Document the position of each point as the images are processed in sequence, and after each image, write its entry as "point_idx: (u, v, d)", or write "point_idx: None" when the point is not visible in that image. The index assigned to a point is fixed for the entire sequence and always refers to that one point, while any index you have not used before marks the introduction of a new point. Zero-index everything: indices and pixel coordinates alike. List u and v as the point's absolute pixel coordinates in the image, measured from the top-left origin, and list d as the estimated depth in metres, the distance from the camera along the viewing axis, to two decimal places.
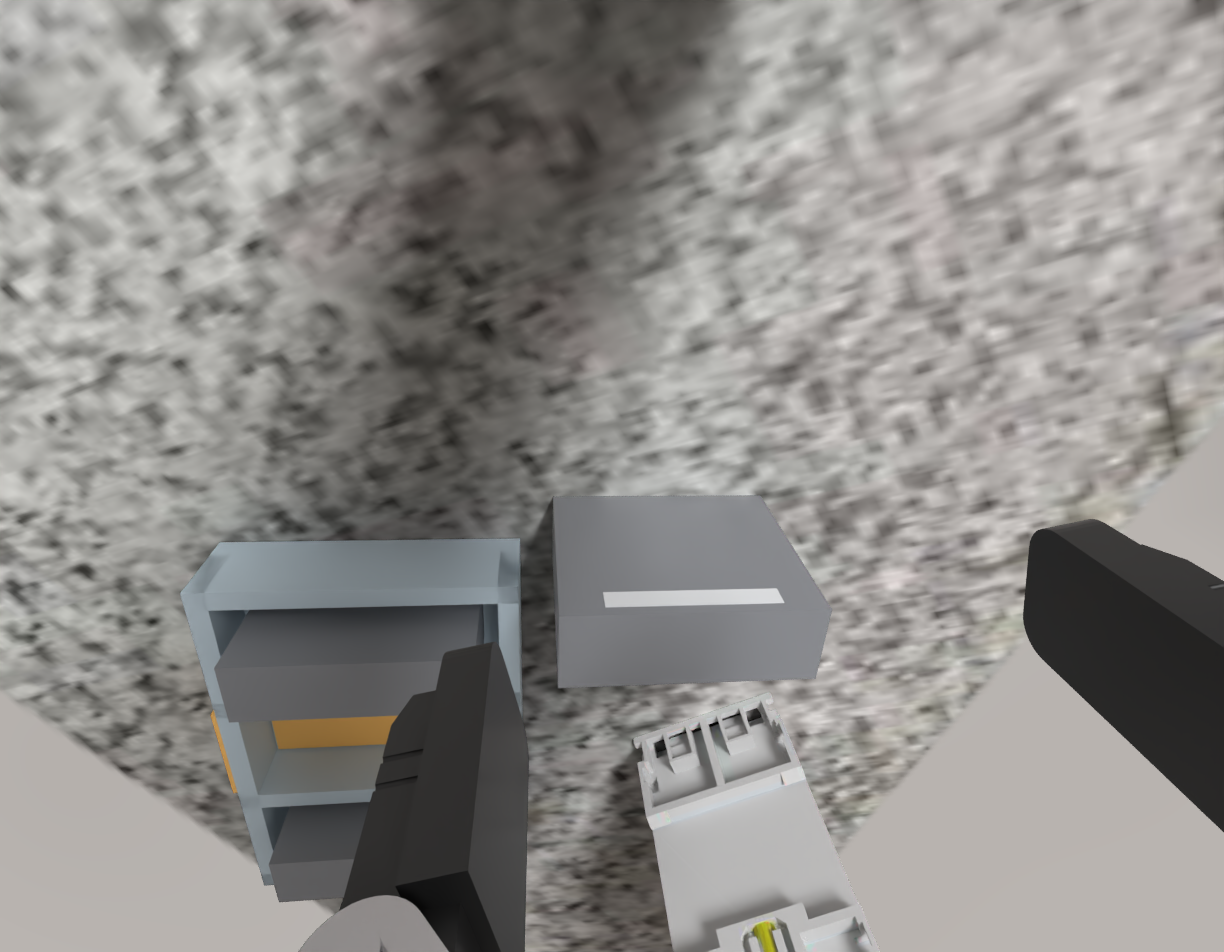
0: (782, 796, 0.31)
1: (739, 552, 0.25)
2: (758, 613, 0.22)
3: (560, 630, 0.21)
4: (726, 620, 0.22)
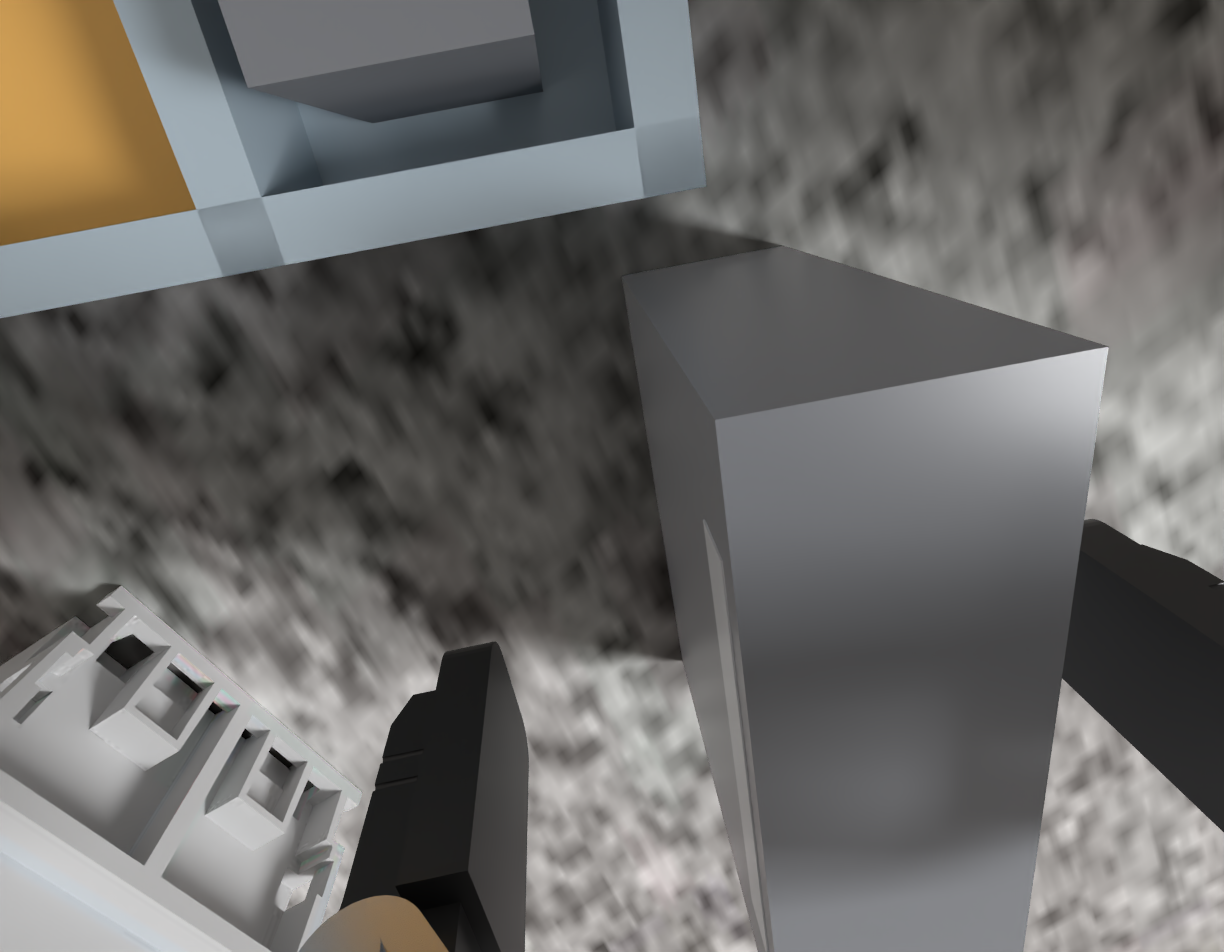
0: None
1: None
2: (1017, 897, 0.08)
3: (1032, 366, 0.05)
4: (1007, 842, 0.07)
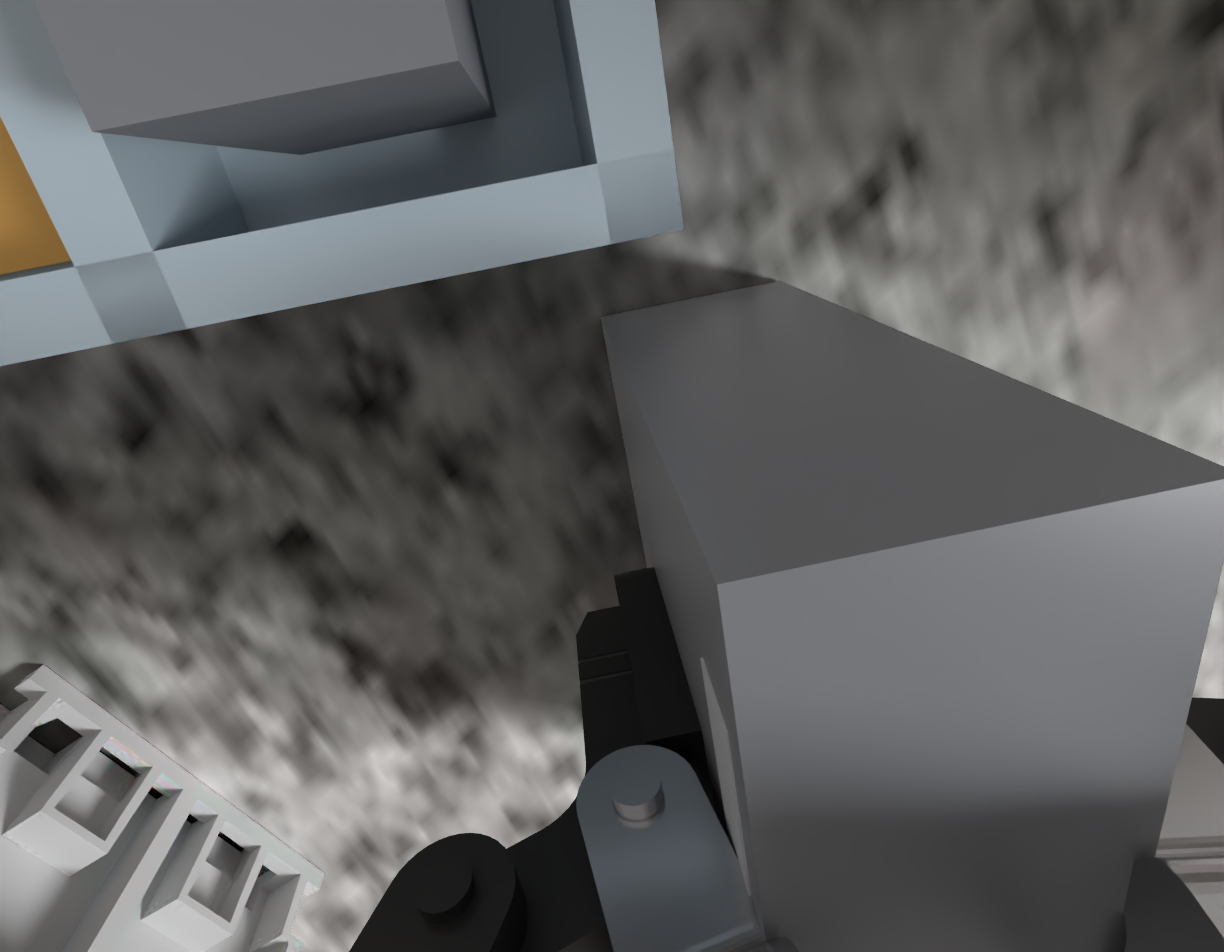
0: None
1: None
2: None
3: (1142, 502, 0.04)
4: None
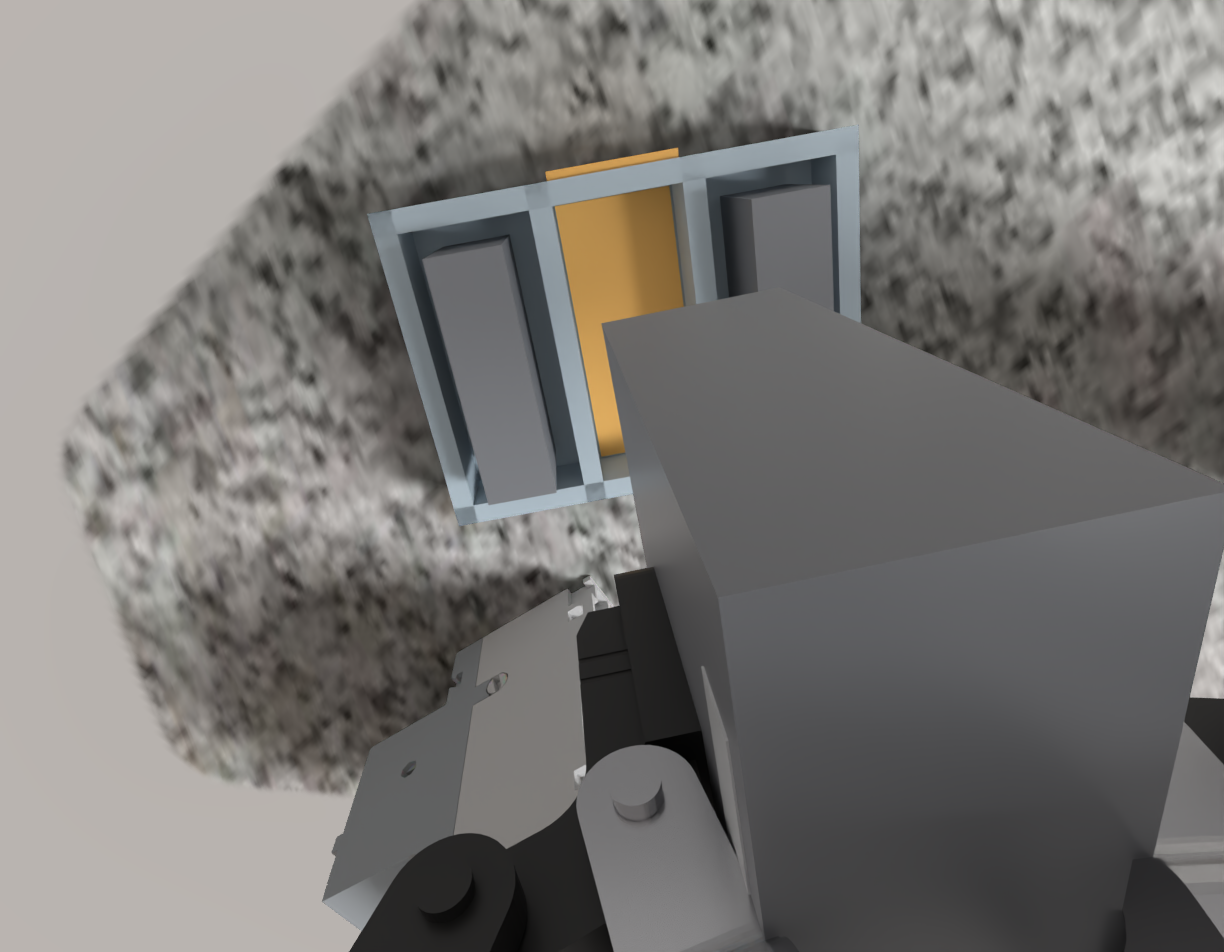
0: None
1: None
2: None
3: (1136, 516, 0.04)
4: None
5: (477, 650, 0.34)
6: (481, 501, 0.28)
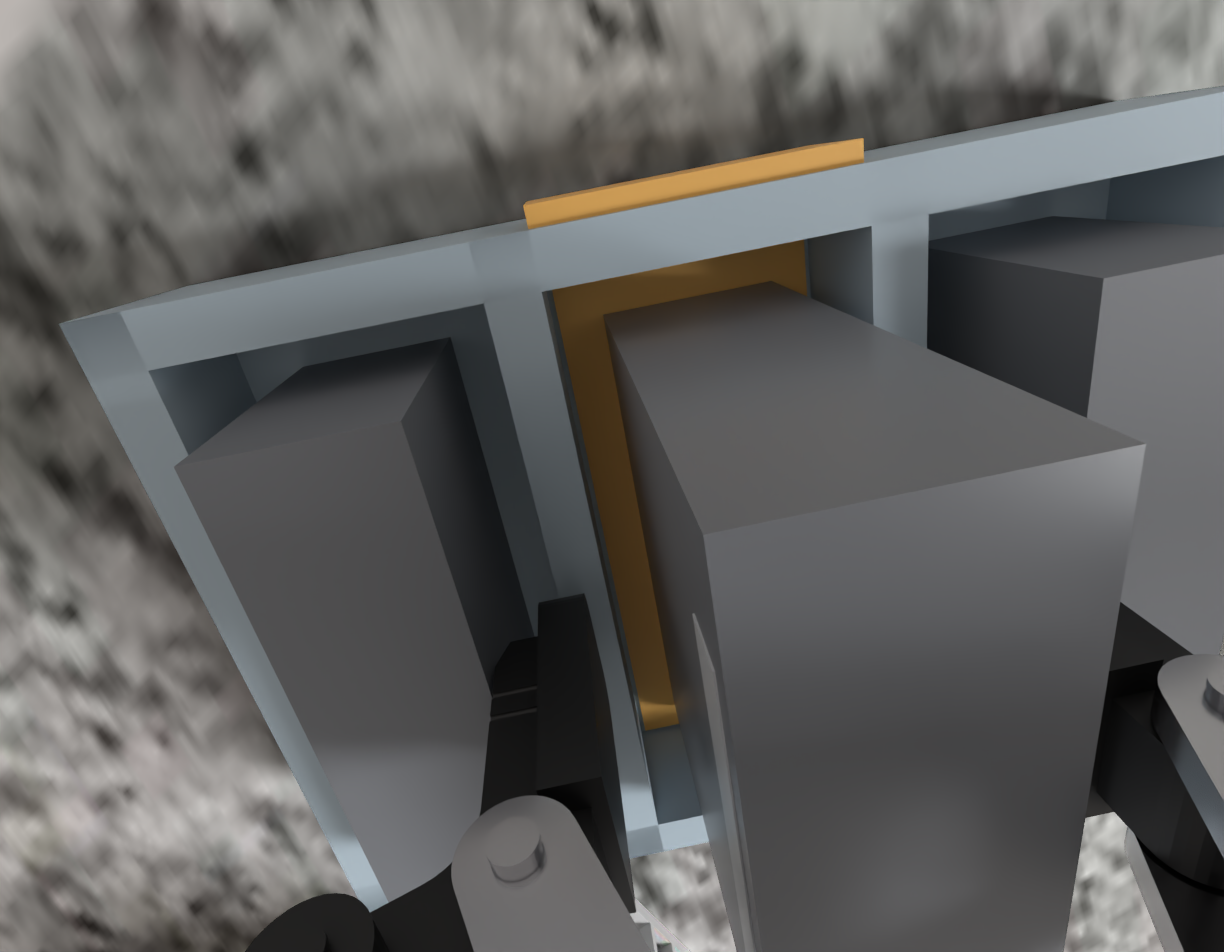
0: None
1: None
2: None
3: (1060, 466, 0.04)
4: (1030, 951, 0.07)
5: None
6: None
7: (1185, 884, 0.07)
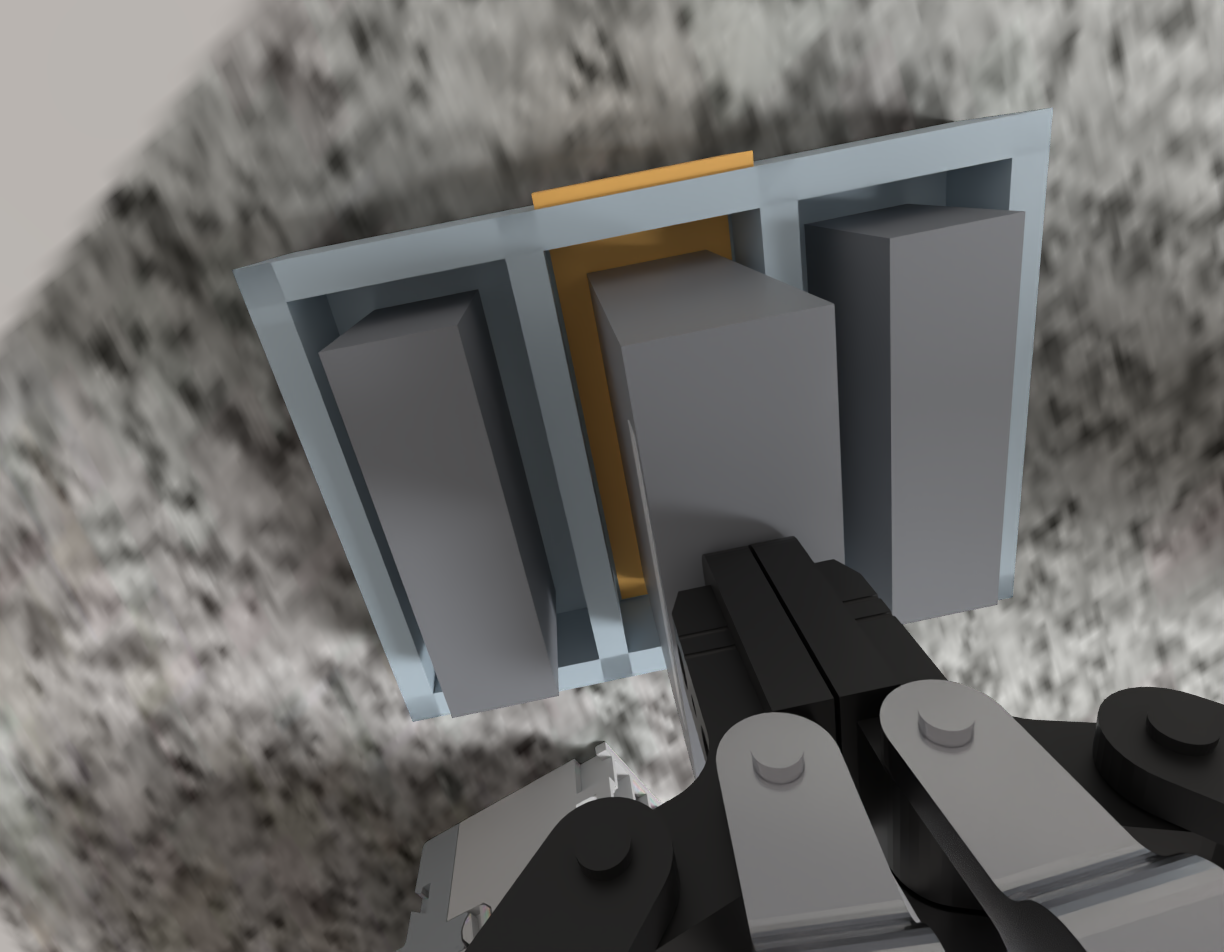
0: None
1: None
2: None
3: (794, 315, 0.09)
4: None
5: (451, 845, 0.24)
6: None
7: (944, 913, 0.07)
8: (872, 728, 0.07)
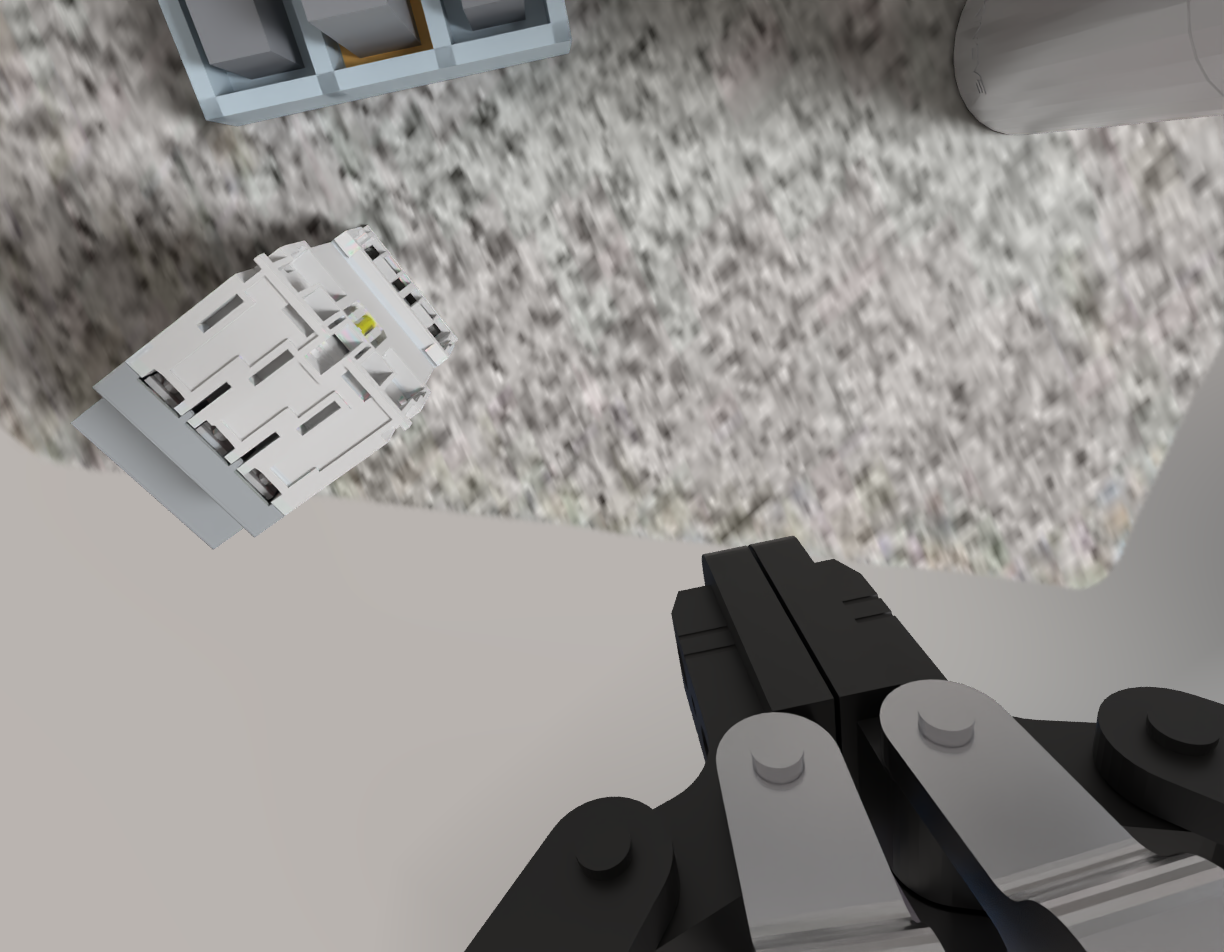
0: (416, 349, 0.34)
1: None
2: None
3: None
4: None
5: None
6: None
7: (943, 913, 0.07)
8: (872, 728, 0.07)
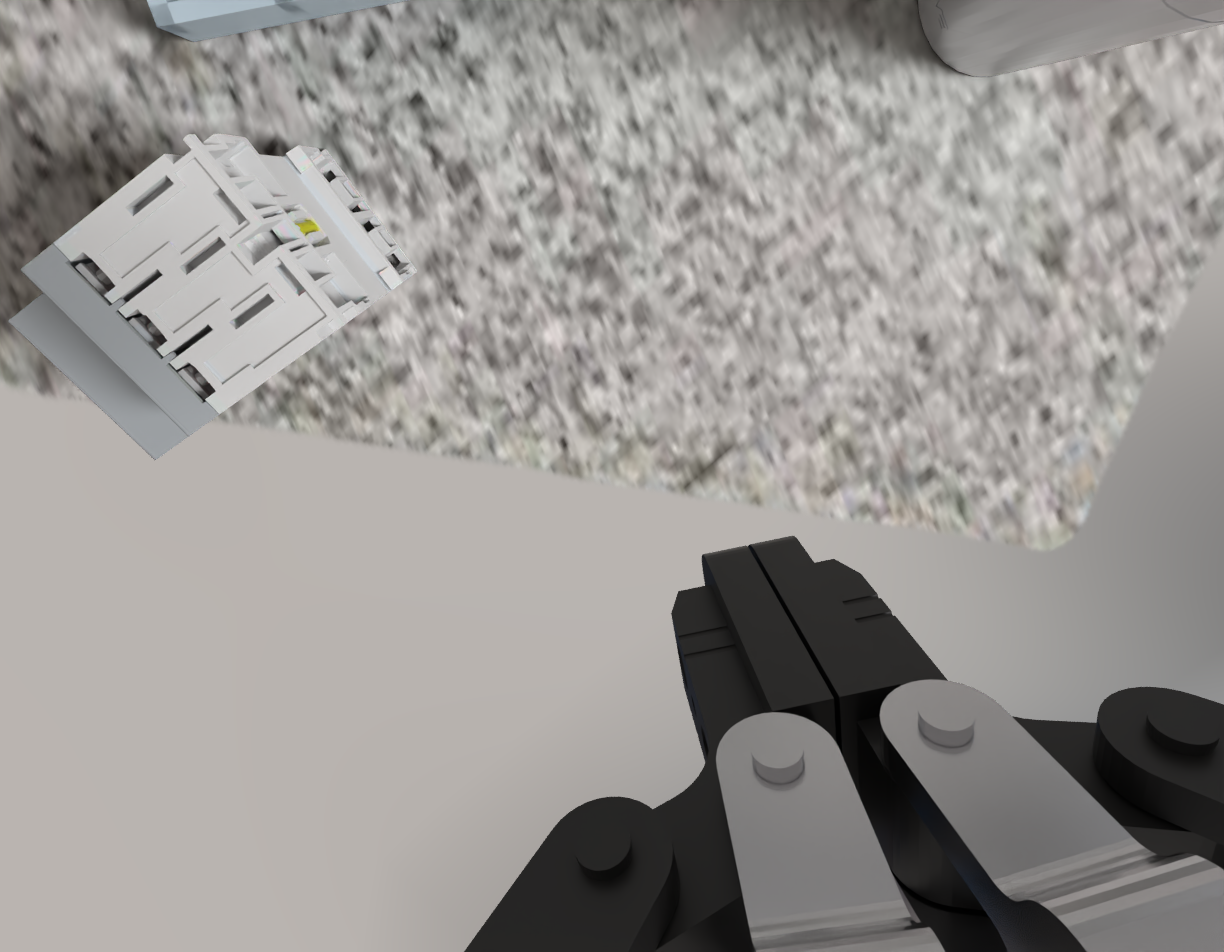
0: (369, 271, 0.34)
1: None
2: None
3: None
4: None
5: None
6: None
7: (943, 913, 0.07)
8: (872, 728, 0.07)
